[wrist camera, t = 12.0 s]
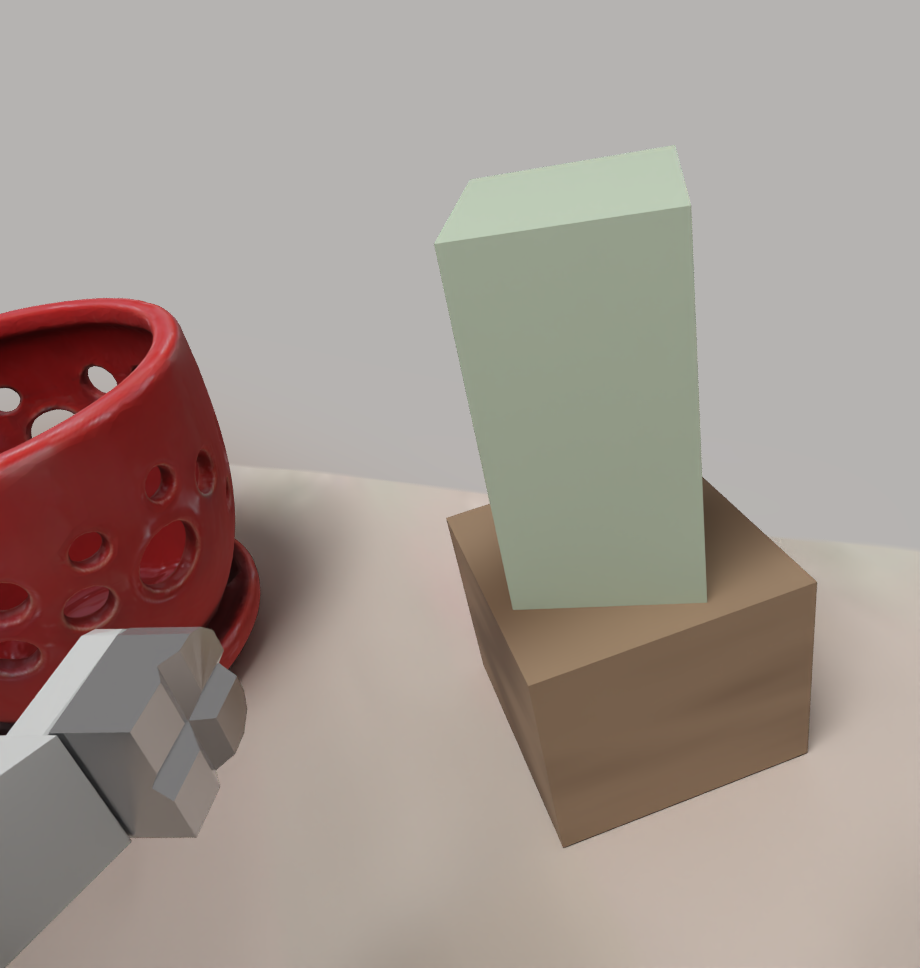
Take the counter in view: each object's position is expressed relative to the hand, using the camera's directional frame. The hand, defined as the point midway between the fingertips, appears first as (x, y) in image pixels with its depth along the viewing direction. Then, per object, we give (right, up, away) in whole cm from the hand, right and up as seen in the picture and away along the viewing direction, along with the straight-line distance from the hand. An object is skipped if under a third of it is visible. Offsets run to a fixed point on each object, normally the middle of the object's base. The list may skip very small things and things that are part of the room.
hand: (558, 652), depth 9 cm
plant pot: (-14, -5, +21) cm, 26 cm away
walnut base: (+4, -5, +15) cm, 16 cm away
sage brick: (+3, 0, +12) cm, 12 cm away
